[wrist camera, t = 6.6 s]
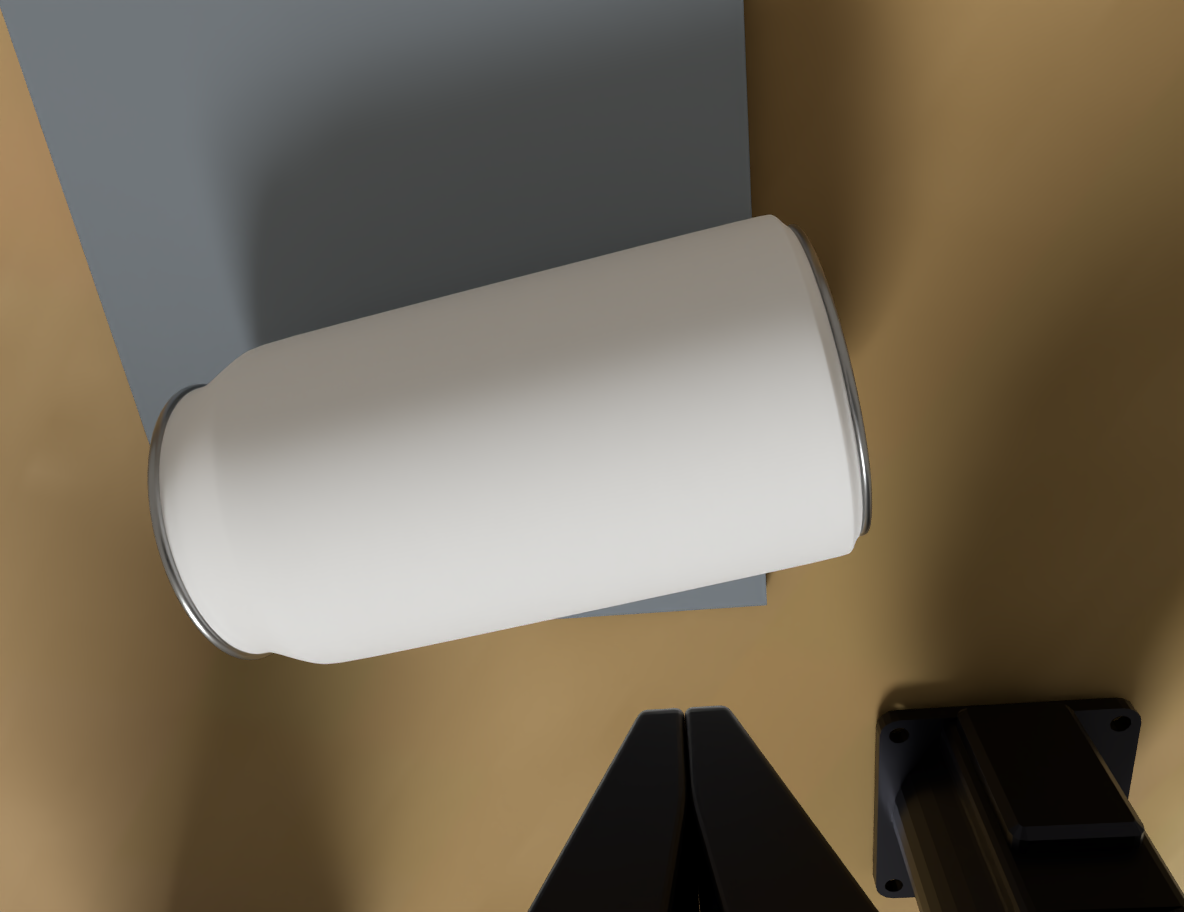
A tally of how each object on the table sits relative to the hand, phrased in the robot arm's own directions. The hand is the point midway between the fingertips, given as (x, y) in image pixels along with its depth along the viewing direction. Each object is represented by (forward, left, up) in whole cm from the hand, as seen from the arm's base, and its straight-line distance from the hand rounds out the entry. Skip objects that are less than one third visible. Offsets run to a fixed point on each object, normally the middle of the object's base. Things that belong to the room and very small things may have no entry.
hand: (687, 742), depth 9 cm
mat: (+1, +5, -13) cm, 14 cm away
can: (0, -3, -10) cm, 10 cm away
